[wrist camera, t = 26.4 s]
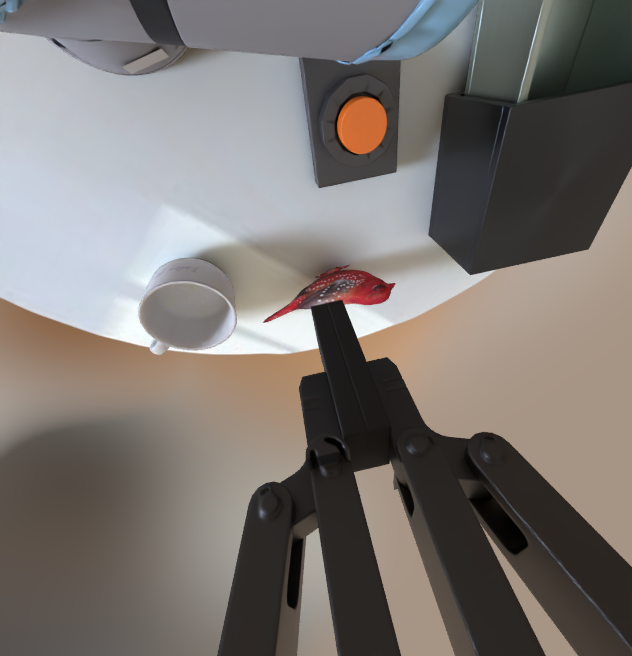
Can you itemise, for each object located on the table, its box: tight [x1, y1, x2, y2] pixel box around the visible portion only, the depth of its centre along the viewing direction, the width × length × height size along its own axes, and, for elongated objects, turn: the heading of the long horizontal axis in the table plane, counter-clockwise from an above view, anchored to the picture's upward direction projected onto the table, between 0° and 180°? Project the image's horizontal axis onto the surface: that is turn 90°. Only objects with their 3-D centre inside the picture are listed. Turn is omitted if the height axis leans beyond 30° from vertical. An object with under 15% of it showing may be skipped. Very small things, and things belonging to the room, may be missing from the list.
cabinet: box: [429, 80, 632, 275], centre depth 33 cm, size 16×14×11 cm
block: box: [299, 57, 401, 188], centre depth 30 cm, size 11×9×4 cm
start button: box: [337, 96, 387, 154], centre depth 28 cm, size 4×4×2 cm
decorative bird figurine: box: [263, 265, 395, 323], centre depth 40 cm, size 3×18×10 cm, turn 108°
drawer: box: [464, 0, 632, 104], centre depth 24 cm, size 21×13×9 cm, turn 8°
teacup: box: [138, 258, 237, 355], centre depth 39 cm, size 14×11×8 cm
